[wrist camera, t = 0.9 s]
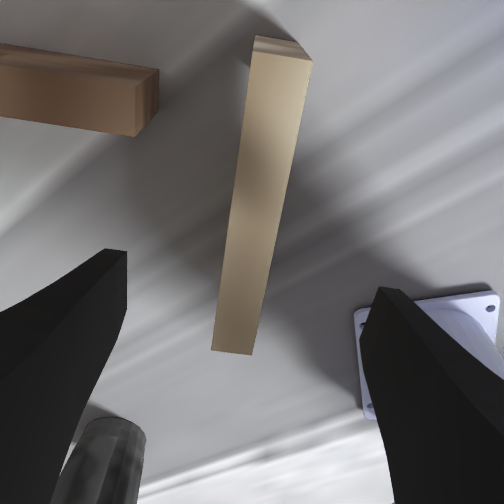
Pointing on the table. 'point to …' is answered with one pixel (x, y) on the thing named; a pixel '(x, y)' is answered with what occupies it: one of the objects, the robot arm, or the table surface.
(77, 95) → the notched walnut block
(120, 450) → the beverage cup
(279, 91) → the beige wooden plank
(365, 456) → the table surface
